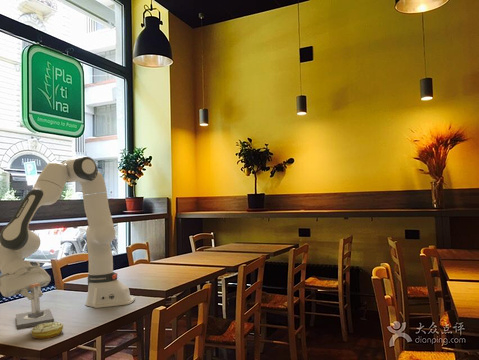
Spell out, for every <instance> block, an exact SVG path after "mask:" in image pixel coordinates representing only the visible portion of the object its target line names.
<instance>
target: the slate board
mask: <svg viewBox="0 0 479 360" xmlns="http://www.w3.org/2000/svg"><path fill="white" fill-rule="evenodd" d="M40 311H44V315H43V316H41V317H38V318H28V313H31V312H32V311H29V312H22V313H16V314H15V321H16V322H15V323H16V329H17V330H20V329H26V328H30V327H35V326H37V325H39V324H43V323H49V322H55V318H54V316H53V314H52V312H51V310H50V308H47V309H42V310H41V309H40Z"/></svg>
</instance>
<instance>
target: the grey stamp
mask: <svg viewBox="0 0 479 360" xmlns="http://www.w3.org/2000/svg"><path fill="white" fill-rule="evenodd" d="M39 286H40V283H35V284H31V285H30V288H31V290H30V293H33V294H34V296H35V297H34V299H32V300H30V305H31V311H30V312H31V313H28V318H38V317H41V316H43V315H44V311H40V310H41V308H40V302H41V301H40V297H39Z"/></svg>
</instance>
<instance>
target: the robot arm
mask: <svg viewBox="0 0 479 360" xmlns="http://www.w3.org/2000/svg"><path fill="white" fill-rule="evenodd" d="M73 182H75V183H76V182H79V184H80V187H82V188H81V193H82V198H83V207H84V212H85V215H86V219H87V224H88V226H87V227H86V230H85V235H86V236H85V237H86V239H85V240H86V246H87V257H88V273H87V287H88V289H87V290H88V291H87V296H86V301H85V306H88V307H92V308H94V309H98V308H107V307H115V306H117V307H118V306H123V305H126V306H127V305H130V304H131V303H133V302H134V301H135V296H134V295H131V294H130V289H129V286H127V285H126V284H124V283H123V282H121V280H119V279H118V272H115V271H114V259H113V258H114V257H113V256H114V255H113V252H112V246H111V243H112V242H113V241H114V239H115V237H116V230H115V229H116V228H115V226H114V222H113V217H112V214H111V211H110V206H109V197H108V192H107V186H106V183H105V179H104V176H103V174H102V173H101V172H100V171H99V169H98V166H97V164H96V162H95V160H94V159H93V157H90V156H87V155H81V156H76V157H70V159H69V158H68V159H67V160H63V161H61V162H59V161H51V162H48V163H47V164H45V166H44V168H43V169H42V171H41V172H40V174H39V176H38V177H37V180H36V182H35V183H34V185H33V188H32V189H30V191H28V193H27V194H26V195H25V197H24V198H23V200H22V201H21V203H20V205H19V206H18V208H17V210H15V211H16V212H15V213H14V215H13V217H12V218H10V221H9V222H8V223H7V224H6V225H5V226H4V227H3V228H2V229H1V231H0V273H1V275H0V293H1V295H2V297H5V298H9V297H13V296H15V295H20V294H21V296H23V297H25V298H27V299H28V300H29V301H31V300H32V299H34V297H35V296H34V294H33V293H31V288H30V285H31V284H35V283H40V286H39V298H40V297H42V296H43V295H44V293H43V292H42V288H43V287H46V286H48V285H49V284H50V282H51V281H52V280H51V275H50V274H49V273H48V272H47V271H46V270H45V269H44V268H43V267H41V264H40V262H38V261H32V260H31V261H30V260H24V259H26V258H27V257H30V256H31V255H33V254H35V252H37V251H38V250H39V248H40V246H41V239H40V236H39V235H37V234H36V233H35V232H33V231H32V230H30V229H29V228H30V227H29V225H30V224H31V221H32V219H33V218H34V215H35V213H36V212H37V210H38V209H39V208H40V207H41V206H50V205H51V206H52V205H54V204H55V203H56V202H57V201H58V200H59V199H60V197H61V195H62V193H63V190H64V187H65V185H66V183H73ZM29 291H30V292H29Z"/></svg>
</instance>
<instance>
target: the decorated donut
mask: <svg viewBox="0 0 479 360" xmlns="http://www.w3.org/2000/svg"><path fill="white" fill-rule="evenodd" d="M63 329H64V324H63V323H62V322H57V321H54V322H49V323H43V324H39V325H37V326H33V327H32V329H31V332H30V333H31V335H32V337H33V338H34V339H39V340H40V339H41V340H42V339H51V338H55V337H56V336H57V337H58V335H60V334H61V333H62V331H63Z"/></svg>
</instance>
